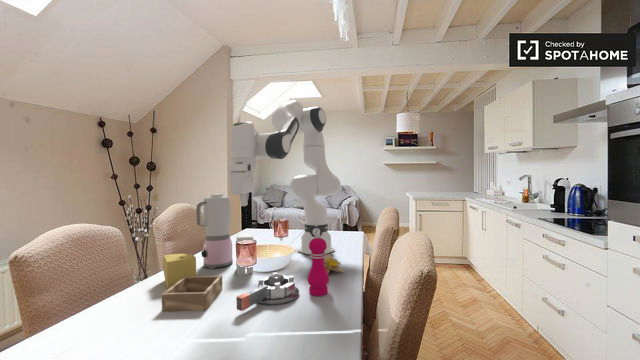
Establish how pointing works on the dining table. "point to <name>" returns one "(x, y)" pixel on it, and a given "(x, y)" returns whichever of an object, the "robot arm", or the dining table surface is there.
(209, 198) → the blender
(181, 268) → the cheese
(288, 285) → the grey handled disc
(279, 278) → the domed metal lid
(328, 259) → the decorative flower
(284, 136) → the robot arm
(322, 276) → the pepper mill
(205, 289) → the square wooden frame
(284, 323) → the dining table surface
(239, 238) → the skincare box
